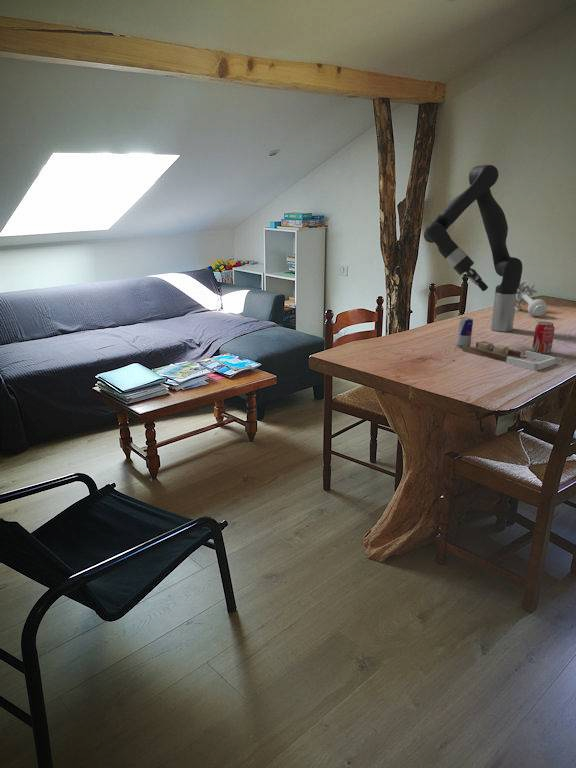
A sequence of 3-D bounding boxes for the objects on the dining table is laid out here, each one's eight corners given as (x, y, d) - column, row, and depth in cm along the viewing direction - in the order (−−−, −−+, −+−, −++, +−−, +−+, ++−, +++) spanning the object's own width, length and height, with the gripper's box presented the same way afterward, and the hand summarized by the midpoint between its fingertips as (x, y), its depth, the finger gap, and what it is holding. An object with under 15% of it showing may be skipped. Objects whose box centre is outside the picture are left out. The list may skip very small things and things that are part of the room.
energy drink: (469, 349, 230) (472, 320, 226) (456, 348, 232) (459, 319, 228) (470, 346, 235) (473, 317, 231) (457, 344, 237) (460, 316, 233)
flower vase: (541, 329, 291) (520, 308, 312) (558, 297, 281) (535, 277, 302) (519, 326, 288) (499, 304, 309) (535, 293, 279) (513, 273, 299)
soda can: (534, 348, 230) (538, 320, 226) (552, 351, 227) (557, 322, 223) (529, 352, 225) (534, 323, 221) (548, 355, 221) (553, 325, 217)
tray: (526, 356, 219) (527, 350, 219) (556, 364, 210) (557, 357, 210) (505, 363, 211) (506, 356, 210) (536, 370, 202) (537, 364, 201)
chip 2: (498, 354, 223) (499, 344, 222) (507, 356, 220) (508, 346, 219) (492, 356, 221) (493, 346, 220) (501, 358, 218) (502, 348, 217)
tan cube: (482, 350, 228) (484, 341, 227) (491, 352, 225) (492, 343, 224) (477, 352, 226) (478, 342, 225) (485, 354, 223) (486, 344, 222)
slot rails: (478, 346, 234) (479, 341, 233) (520, 356, 220) (521, 351, 219) (462, 350, 227) (462, 346, 227) (504, 361, 213) (505, 356, 213)
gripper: (467, 253, 228) (494, 282, 227) (466, 256, 241) (492, 284, 240) (452, 266, 230) (479, 295, 229) (452, 268, 244) (478, 296, 242)
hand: (486, 289), depth 234 cm, fingers open, 8 cm apart
